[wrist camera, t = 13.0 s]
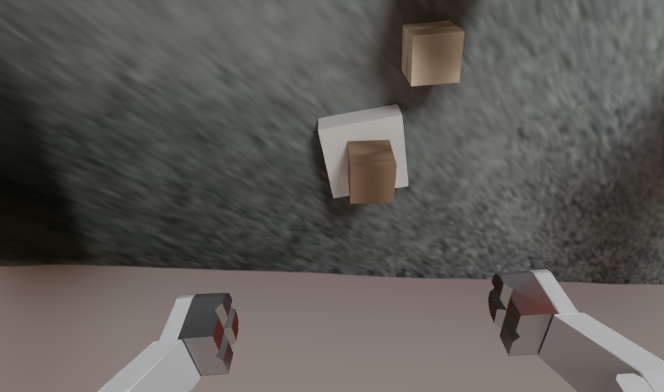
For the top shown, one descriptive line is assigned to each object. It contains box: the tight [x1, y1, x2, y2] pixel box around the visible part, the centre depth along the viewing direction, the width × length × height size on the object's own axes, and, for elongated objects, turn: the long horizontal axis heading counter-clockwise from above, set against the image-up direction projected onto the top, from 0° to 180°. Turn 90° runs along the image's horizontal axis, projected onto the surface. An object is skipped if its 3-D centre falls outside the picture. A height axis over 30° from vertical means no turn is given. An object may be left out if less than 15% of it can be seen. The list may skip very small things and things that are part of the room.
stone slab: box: [318, 104, 408, 198], centre depth 49 cm, size 10×10×4 cm
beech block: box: [402, 20, 465, 86], centre depth 40 cm, size 5×5×6 cm
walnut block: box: [348, 140, 397, 204], centre depth 44 cm, size 5×5×6 cm
